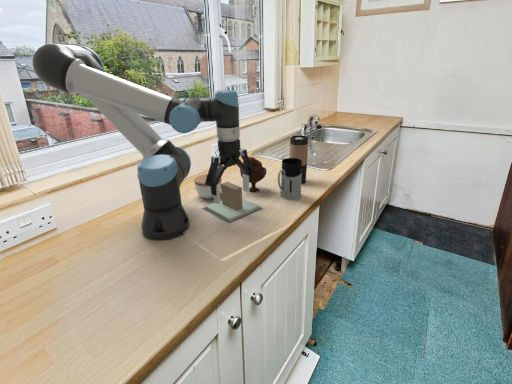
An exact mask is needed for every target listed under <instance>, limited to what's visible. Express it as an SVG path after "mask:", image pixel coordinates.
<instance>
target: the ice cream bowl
mask: <svg viewBox="0 0 512 384" xmlns="http://www.w3.org/2000/svg"><path fill="white" fill-rule="evenodd" d="M248 157H249V160H250V162H251V164H252V166H253V168H254V172H252V175H251V176H250V183H249V184H251V185H250V186H251V187H249V193H252V194H253V193H258V192H260V188H258V187H256V184H257V183H259V182H260V181H262V180H263V179H264V178H265V177H266V175H267V168H266V167H264V166H263V163H262V162H261V161H260V160H258V159H257V158H255V157H253V156H248ZM242 163H243V164H244V161H243V160H242ZM244 166H245V164H244ZM245 167H246V166H245ZM239 173H240V176H241V178H242V179H243V174H245V173H244V172H243V171H242V170H241V169H240V168H239Z"/></svg>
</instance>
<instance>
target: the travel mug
mask: <svg viewBox="0 0 512 384" xmlns="http://www.w3.org/2000/svg"><path fill="white" fill-rule="evenodd" d="M308 151H309V137H308V136H306V135H300V134H299V135H292V136H291V137H289V158H297V159H300V160H302V180H301V185H304V184H306V182H307V170H308V168H307V167H308V155H309V154H308Z"/></svg>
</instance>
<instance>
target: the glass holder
mask: <svg viewBox="0 0 512 384" xmlns="http://www.w3.org/2000/svg"><path fill="white" fill-rule="evenodd" d="M301 180H302V160H300V159H297V158H290V157H287V158H283V159H282V160H281V169H280V170H279V171H278V174H277V184H278V188H279V190H280V197H281V199H284V200H288V201H297V202H298V201H301V200H302V198H303V196H302V184H301Z"/></svg>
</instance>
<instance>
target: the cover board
mask: <svg viewBox="0 0 512 384" xmlns="http://www.w3.org/2000/svg"><path fill="white" fill-rule="evenodd" d="M220 193H221V199H220V204H217V203H215V202H214V201H213V202H212V203H210V204H207V205H205V206H204V207H205V208H206V209H208V210H209V211H211V212H213V213H215V214H217V215H218V216H220V217H222V218H224V219H226V220H228V221H232V220H234V219H236V218H239V217H241V216H243V215H245V214H248V213H250V212H252V211H255V210H257V209H259V207H260V205H259V204H257V203H254V202H252V201H249V200H247V199H245V198H243V186H239V185H237V184H234V183H231V182H230V181H226V182H223V183H222V182H221V191H220Z"/></svg>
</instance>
